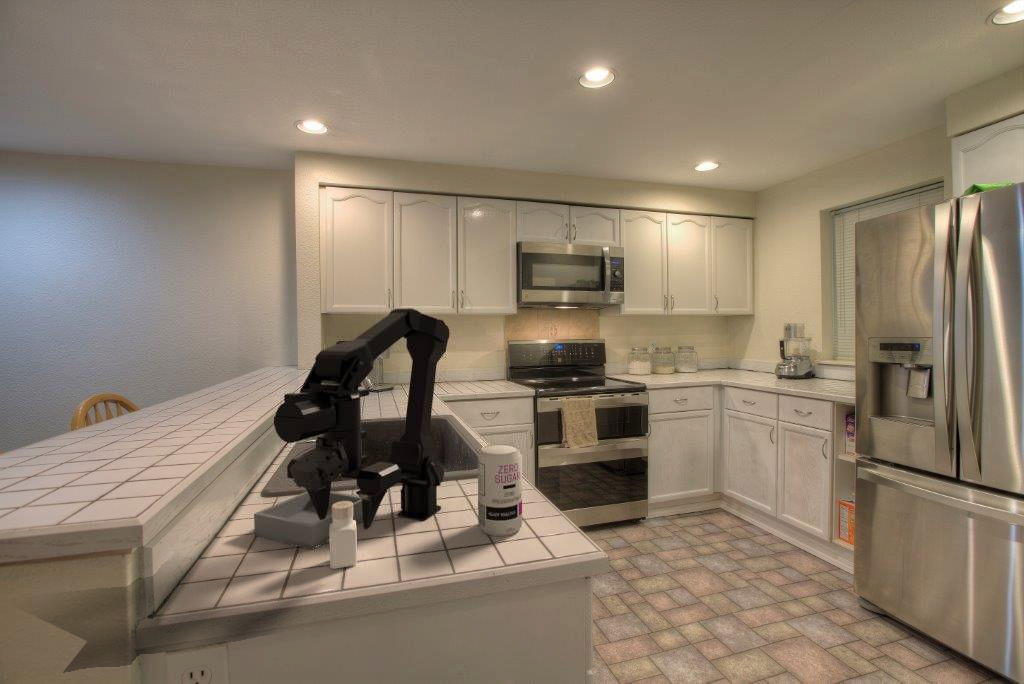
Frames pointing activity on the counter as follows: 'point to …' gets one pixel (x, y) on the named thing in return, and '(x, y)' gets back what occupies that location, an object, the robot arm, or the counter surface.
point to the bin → (301, 520)
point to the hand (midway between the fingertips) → (344, 523)
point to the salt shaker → (343, 536)
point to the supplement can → (500, 489)
